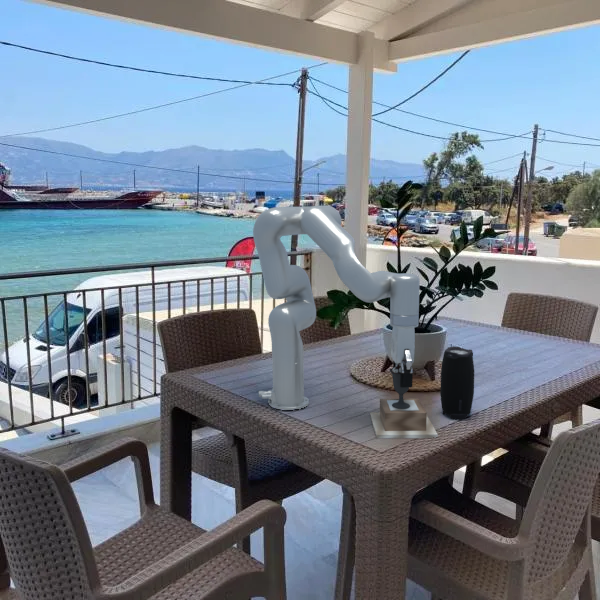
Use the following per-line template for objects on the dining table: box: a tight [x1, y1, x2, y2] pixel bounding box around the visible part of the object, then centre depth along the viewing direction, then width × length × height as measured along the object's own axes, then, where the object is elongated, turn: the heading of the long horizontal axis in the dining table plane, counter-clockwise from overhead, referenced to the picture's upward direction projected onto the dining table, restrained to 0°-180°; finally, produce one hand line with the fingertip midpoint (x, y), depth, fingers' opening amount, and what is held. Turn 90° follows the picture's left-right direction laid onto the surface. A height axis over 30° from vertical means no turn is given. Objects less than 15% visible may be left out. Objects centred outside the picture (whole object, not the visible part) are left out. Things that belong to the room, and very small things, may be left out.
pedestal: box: [369, 398, 439, 439], centre depth 157 cm, size 16×16×6 cm
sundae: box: [389, 360, 415, 409], centre depth 155 cm, size 7×7×15 cm
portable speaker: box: [440, 345, 475, 421], centre depth 164 cm, size 9×9×20 cm
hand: (403, 381), depth 156 cm, fingers open, 9 cm apart
